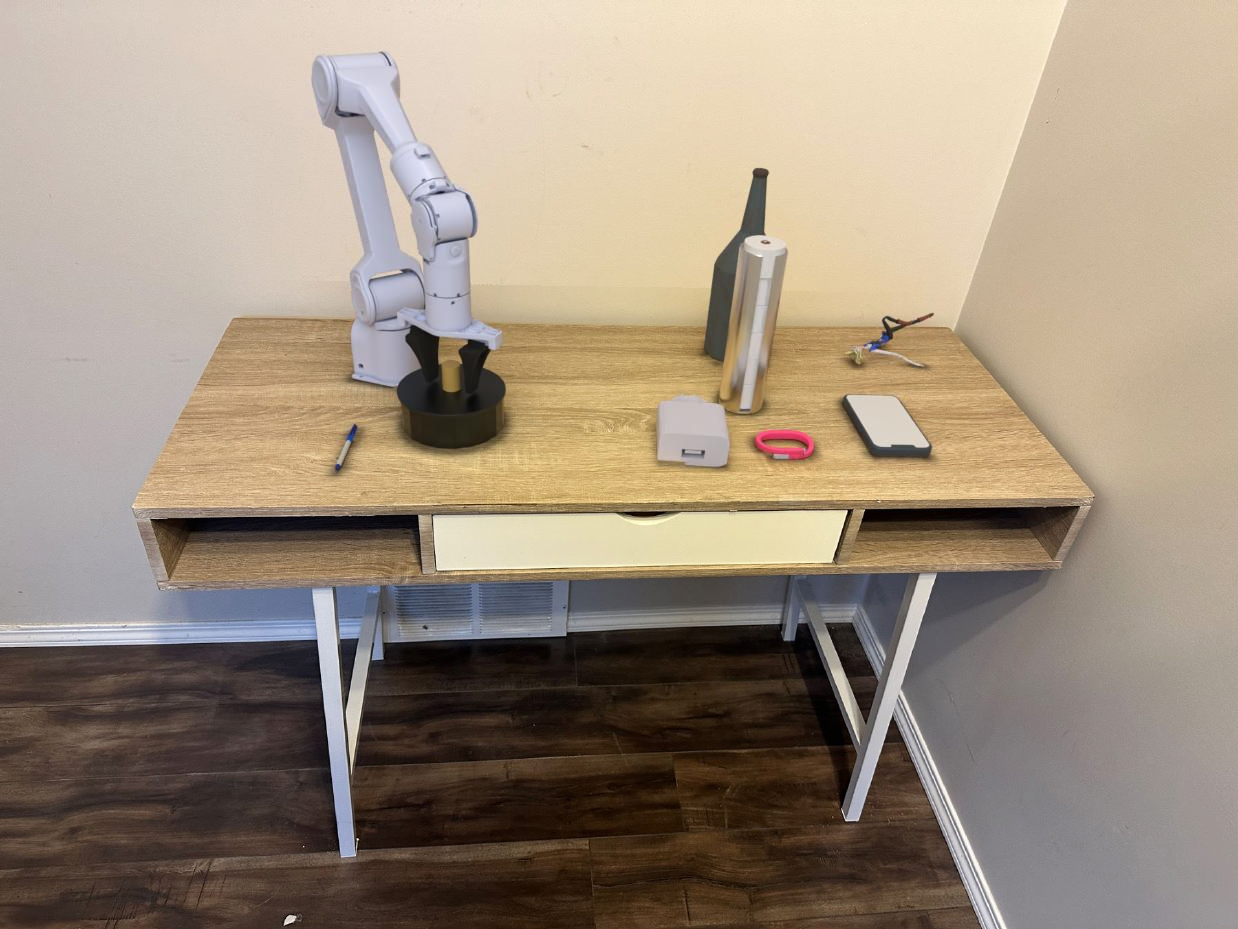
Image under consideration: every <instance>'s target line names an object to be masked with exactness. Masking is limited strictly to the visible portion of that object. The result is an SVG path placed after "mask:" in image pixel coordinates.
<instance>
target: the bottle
mask: <svg viewBox="0 0 1238 929" xmlns="http://www.w3.org/2000/svg"><path fill="white" fill-rule="evenodd" d="M769 174H770V170H768V169H767V168H763V167H754V168H753V170H752V180H751V183H750V188H749V192H748V196H747V199H746V204H745V209H744V211H743V212H744V213H743V217H742V220H741V225H740V229H739V230H738V231H737V232H736V234H735V235H734V236H733V238H732V239H731V240H730V241H729V243H727V245H726V246H725V247H724V249H723V250H722V251H721V252H720V253H719V255H718V256H717V257H716V260H715V262H714V263H713V272H712V277H711V278H712V280H711V289H710V296H709V302H708V303H709V304H708V311H707V318H706V319H707V320H706V328H705V336H704V343H703V350H704V352H705V354H706V355H709V356H710V357H711V358H712V360H716V361H719V362H722V363H724V357H725V350H726V342H727V335H728V328H729V321H730V313H731V306H732V299H733V292H734V284H735V277H736V270H737V263H738V255H739V248H740V245H741V244H742V243H743V242H744V241H745V239H746V238H748V237H750V236H757V235H763V236H767V234H766V231H765V228H766V208H767V190H768V188H767V186H768V176H769Z"/></svg>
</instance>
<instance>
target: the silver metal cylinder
mask: <svg viewBox="0 0 1238 929" xmlns="http://www.w3.org/2000/svg"><path fill="white" fill-rule="evenodd" d="M788 256H789V249H788V248H787V242H786V241H784V240H782V239H781V238H778V237H775V236H771V235H766V236H763V235H757V236H750V237H748V238H746V239H745V241H744V242H743V243H742V244H741V245H740V248H739V255H738V263H737V270H736V277H735V284H734V292H733V299H732V306H731V313H730V321H729V328H728V335H727V342H726V350H725V357H724V362H723V363H722V364H723V365H722V372H721V379H720V387H719V393H718V404H719V405H722V406H723V407H724V409H725V411H728V412H730V413H733V414H737V415H751V414H755V413H757V412H759V411H761V409H762V407H763V403H764V396H765V391H766V386H767V379H768V374H769V369H770V362H771V355H772V350H773V345H774V344H773V343H774V339H775V333H776V327H777V320H778V315H779V309H780V303H781V297H782V291H783V285H784V279H785V272H786V268H787V267H786V266H787V263H788V262H787V261H788Z"/></svg>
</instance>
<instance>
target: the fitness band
mask: <svg viewBox="0 0 1238 929" xmlns="http://www.w3.org/2000/svg"><path fill="white" fill-rule="evenodd" d="M767 440H795V441H799V442H802V443H803V444H805V445H806V446H807V448H805V447H775V446H771V445H769V444H766V443H764V442H763V441H767ZM754 445H755V447H756V448H757V449H759V450H761V451H763V452H765V453H770V454H772V459H773V460H799V459H800V460H801V459H806V458H808V457H810V456H812V455H813V453H814V450H815V443H814V440H813V438H812V437H811V436H810V435H809V434H807V433H806V432H804V431H800V430H795V429H769V430H763V431H760V432H758V433H757V434H756V435H755V440H754Z"/></svg>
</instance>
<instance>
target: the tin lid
mask: <svg viewBox="0 0 1238 929" xmlns="http://www.w3.org/2000/svg"><path fill="white" fill-rule="evenodd" d="M506 393H507V387H506V383H505V381H504V379H503V378H502V377H501V376H500V375H499V374H497V373H495V371H492V370H491V369H487V368H485V367H483V369H482V372H481V376H480V380H479V385H478V388H477V389H476V390H475V391H474V392H473V393H471V394H469V393H466V390H465V381H464V369H463V364H462V363H460V362H459V361H458V360H454V359H448V360H444V361H442V362H441V363H439V374H438V377H437V378H436V379H435V380H433V381H432V382H431V383H428V382H426V380H425V377H424V374H423V371H422V369H418V370H416V371H413V372H411V373H410V374H408V375H406V376H405V377H404V378H403V379H402V380H401V381H400V382H399V384H398V386H396V396H397V399H398V401H399V403H400V405H401V404H402V405H403V406H405V407H406V408H407V409H409V410H411V411H413V412H415V413H418V414H421V415H424V416H429V417H435V418H464V417H470V416H474V415H478V414H481V413H484V412H487V411H489V410H491V409H493V408H494V407H496V406H497V405H498V404H500V402H501V401H502V400H503V399H504V400H505V397H506Z"/></svg>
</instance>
